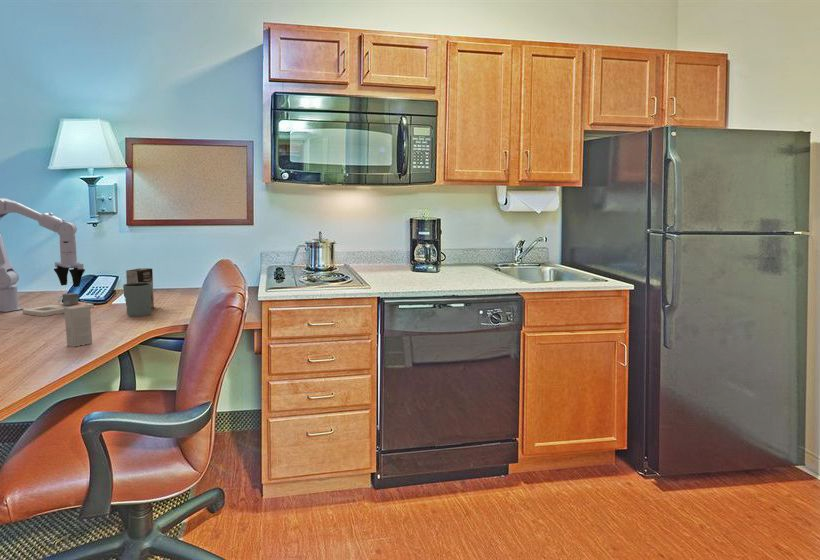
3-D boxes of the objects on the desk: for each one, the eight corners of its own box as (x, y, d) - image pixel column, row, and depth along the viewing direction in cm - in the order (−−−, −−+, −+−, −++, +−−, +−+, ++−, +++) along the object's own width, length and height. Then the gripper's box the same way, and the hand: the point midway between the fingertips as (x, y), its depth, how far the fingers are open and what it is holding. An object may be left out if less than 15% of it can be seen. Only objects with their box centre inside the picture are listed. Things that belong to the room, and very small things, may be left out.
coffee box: (141, 310, 260) (139, 270, 258) (127, 310, 262) (125, 270, 260) (154, 307, 269) (153, 268, 267) (140, 306, 271) (139, 267, 268)
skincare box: (85, 341, 206) (83, 304, 205) (92, 343, 204) (90, 306, 202) (66, 345, 201) (63, 307, 200) (73, 347, 199) (71, 308, 197)
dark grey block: (63, 309, 263) (62, 294, 262) (72, 307, 266) (71, 292, 266) (70, 309, 261) (69, 295, 260) (78, 308, 265) (78, 293, 264)
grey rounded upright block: (158, 313, 255) (157, 283, 254) (140, 318, 246) (138, 286, 244) (137, 311, 259) (136, 281, 257) (118, 316, 249) (117, 285, 248)
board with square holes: (22, 313, 252) (22, 309, 252) (73, 305, 271) (73, 301, 271) (43, 316, 247) (43, 312, 246) (94, 307, 266) (93, 303, 266)
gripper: (89, 252, 261) (91, 285, 263) (65, 250, 268) (67, 283, 269) (73, 253, 255) (75, 288, 257) (49, 251, 261) (51, 285, 263)
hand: (70, 285), depth 263 cm, fingers open, 7 cm apart
